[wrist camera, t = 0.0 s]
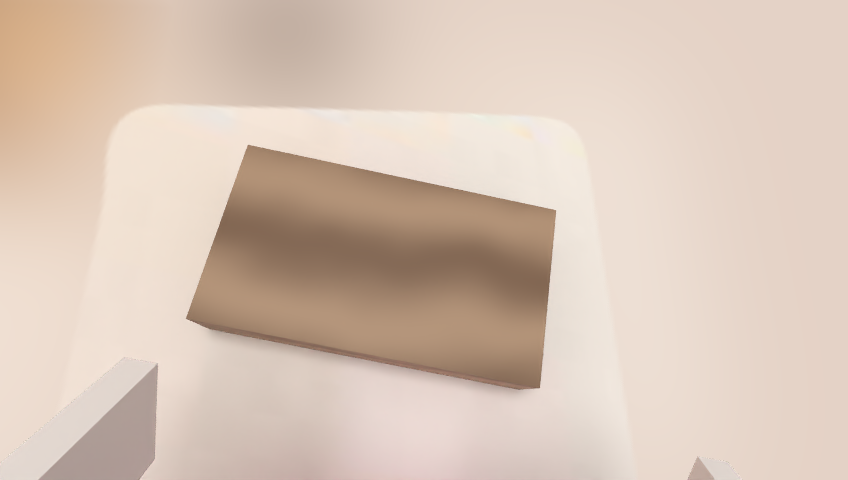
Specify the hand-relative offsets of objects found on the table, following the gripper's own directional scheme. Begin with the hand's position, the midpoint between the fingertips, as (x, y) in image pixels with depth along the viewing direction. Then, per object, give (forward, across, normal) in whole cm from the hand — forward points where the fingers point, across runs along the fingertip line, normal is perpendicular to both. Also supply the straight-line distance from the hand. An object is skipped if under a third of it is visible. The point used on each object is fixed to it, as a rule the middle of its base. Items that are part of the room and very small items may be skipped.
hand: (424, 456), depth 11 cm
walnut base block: (+18, +2, +3) cm, 18 cm away
